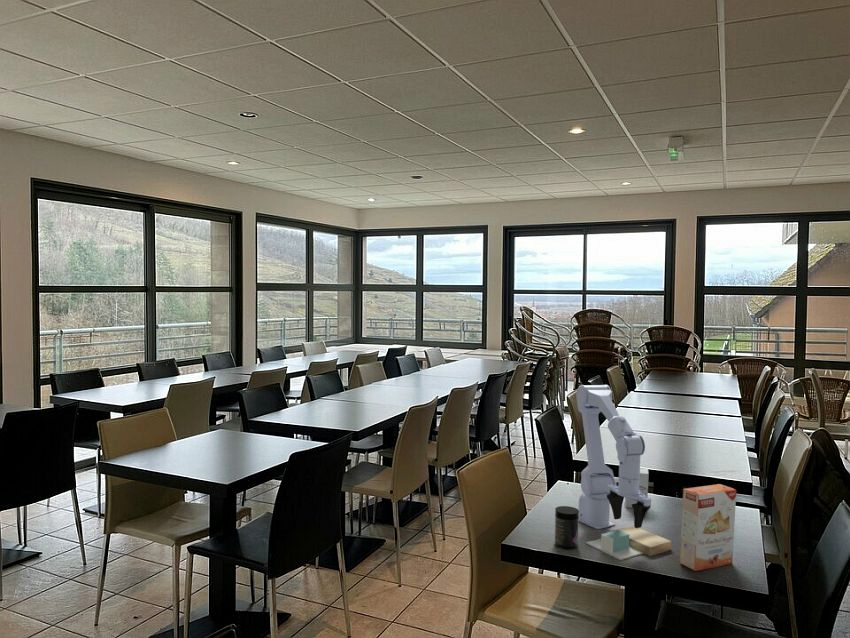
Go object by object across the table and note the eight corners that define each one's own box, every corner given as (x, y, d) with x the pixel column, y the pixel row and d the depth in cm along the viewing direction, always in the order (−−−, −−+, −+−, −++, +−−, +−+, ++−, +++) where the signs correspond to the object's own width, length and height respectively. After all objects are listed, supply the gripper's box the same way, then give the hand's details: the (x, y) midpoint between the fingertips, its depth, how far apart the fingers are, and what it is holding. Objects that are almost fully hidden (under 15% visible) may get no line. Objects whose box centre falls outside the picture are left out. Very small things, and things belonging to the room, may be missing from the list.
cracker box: (696, 572, 165) (699, 494, 165) (678, 563, 171) (681, 487, 170) (734, 564, 171) (737, 488, 170) (716, 555, 177) (719, 482, 176)
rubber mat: (586, 543, 184) (586, 542, 184) (607, 537, 188) (607, 536, 188) (620, 560, 172) (620, 558, 172) (643, 553, 177) (643, 552, 177)
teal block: (618, 543, 183) (601, 547, 180) (618, 529, 183) (601, 534, 179) (628, 548, 180) (611, 553, 176) (629, 534, 180) (612, 539, 176)
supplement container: (572, 552, 177) (573, 515, 177) (550, 546, 181) (551, 510, 181) (581, 544, 183) (582, 509, 182) (559, 538, 187) (560, 504, 186)
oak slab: (611, 538, 188) (611, 530, 187) (632, 533, 192) (632, 525, 192) (650, 556, 176) (650, 547, 175) (671, 549, 180) (671, 541, 180)
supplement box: (624, 507, 215) (626, 471, 215) (624, 501, 222) (625, 465, 222) (647, 510, 213) (648, 473, 213) (646, 503, 220) (648, 468, 220)
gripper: (659, 481, 177) (657, 529, 178) (619, 468, 190) (617, 512, 190) (642, 485, 174) (640, 533, 174) (602, 471, 186) (601, 516, 187)
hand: (627, 523), depth 182 cm, fingers open, 7 cm apart
